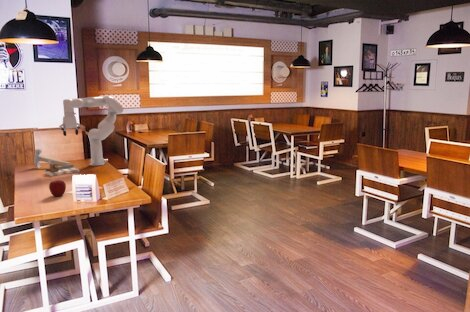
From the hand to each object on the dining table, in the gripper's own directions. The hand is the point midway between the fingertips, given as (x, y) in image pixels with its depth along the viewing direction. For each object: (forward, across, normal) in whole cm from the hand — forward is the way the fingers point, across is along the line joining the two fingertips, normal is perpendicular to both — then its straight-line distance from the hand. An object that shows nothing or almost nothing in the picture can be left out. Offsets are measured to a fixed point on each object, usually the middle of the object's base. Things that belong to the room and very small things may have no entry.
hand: (71, 135), depth 320 cm
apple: (+28, +43, +76) cm, 92 cm away
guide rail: (+26, +13, +4) cm, 30 cm away
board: (+28, +13, +9) cm, 32 cm away
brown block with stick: (+26, +19, +10) cm, 34 cm away
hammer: (+29, +10, -18) cm, 36 cm away
